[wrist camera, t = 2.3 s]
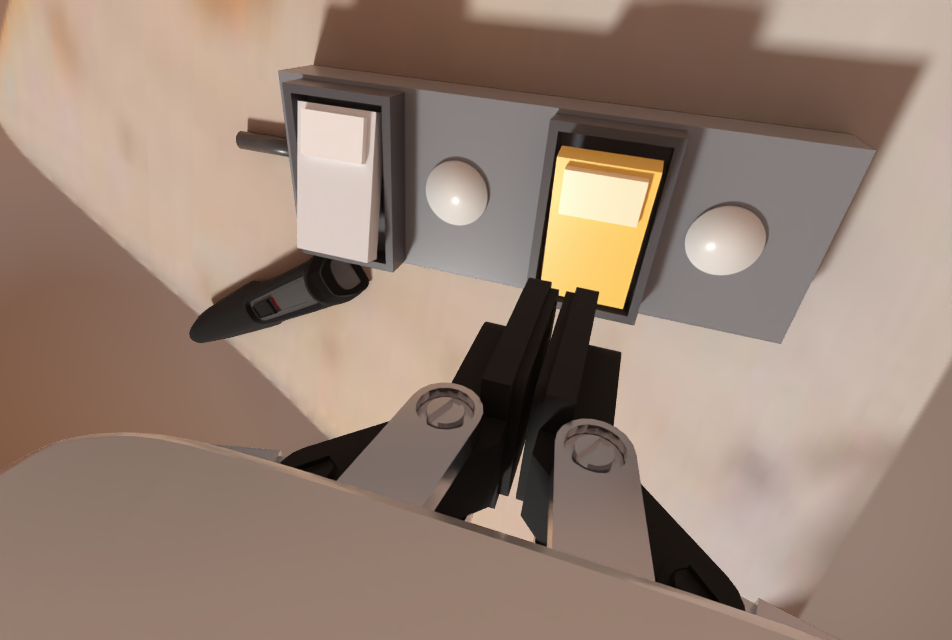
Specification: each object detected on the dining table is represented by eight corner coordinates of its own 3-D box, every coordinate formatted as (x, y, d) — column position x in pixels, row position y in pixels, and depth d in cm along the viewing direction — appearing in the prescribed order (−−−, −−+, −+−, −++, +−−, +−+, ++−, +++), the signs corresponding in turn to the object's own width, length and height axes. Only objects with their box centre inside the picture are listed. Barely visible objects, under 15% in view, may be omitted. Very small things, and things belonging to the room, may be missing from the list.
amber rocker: (624, 295, 24) (621, 313, 24) (544, 278, 25) (537, 295, 24) (663, 160, 20) (661, 177, 19) (561, 145, 20) (555, 160, 19)
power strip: (769, 312, 26) (787, 363, 23) (259, 209, 33) (208, 235, 29) (852, 134, 21) (891, 160, 18) (233, 54, 28) (167, 61, 24)
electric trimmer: (203, 298, 40) (171, 318, 37) (346, 236, 32) (318, 256, 30) (232, 337, 41) (203, 359, 39) (375, 286, 34) (351, 309, 31)
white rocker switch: (376, 259, 26) (364, 264, 25) (308, 244, 27) (292, 249, 26) (385, 113, 23) (372, 111, 22) (310, 102, 24) (292, 99, 23)
